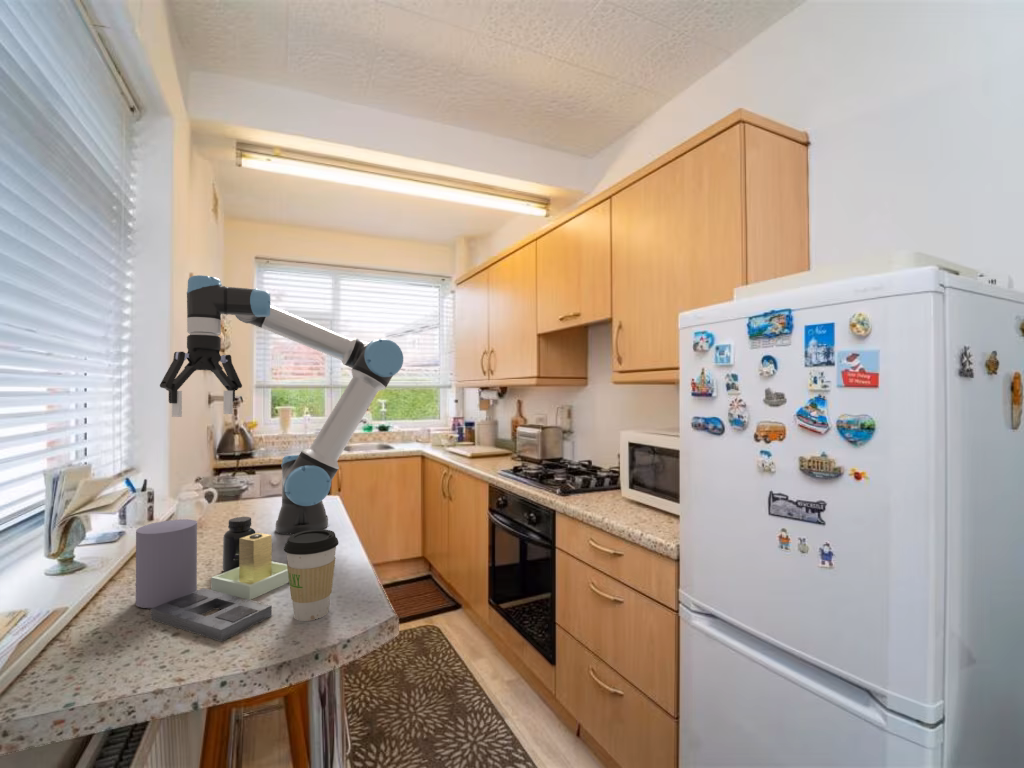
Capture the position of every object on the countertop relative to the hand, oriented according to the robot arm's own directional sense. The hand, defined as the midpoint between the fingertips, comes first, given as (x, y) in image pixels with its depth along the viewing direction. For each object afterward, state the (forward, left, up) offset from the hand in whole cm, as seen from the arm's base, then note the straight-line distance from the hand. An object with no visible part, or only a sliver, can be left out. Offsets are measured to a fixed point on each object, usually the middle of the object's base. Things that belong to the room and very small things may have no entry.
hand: (203, 415), depth 125 cm
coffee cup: (+13, +52, -37) cm, 65 cm away
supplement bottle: (+3, +18, -37) cm, 41 cm away
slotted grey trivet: (+22, +36, -37) cm, 56 cm away
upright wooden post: (+8, +30, -36) cm, 48 cm away
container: (+20, +19, -37) cm, 46 cm away
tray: (+8, +30, -37) cm, 48 cm away
